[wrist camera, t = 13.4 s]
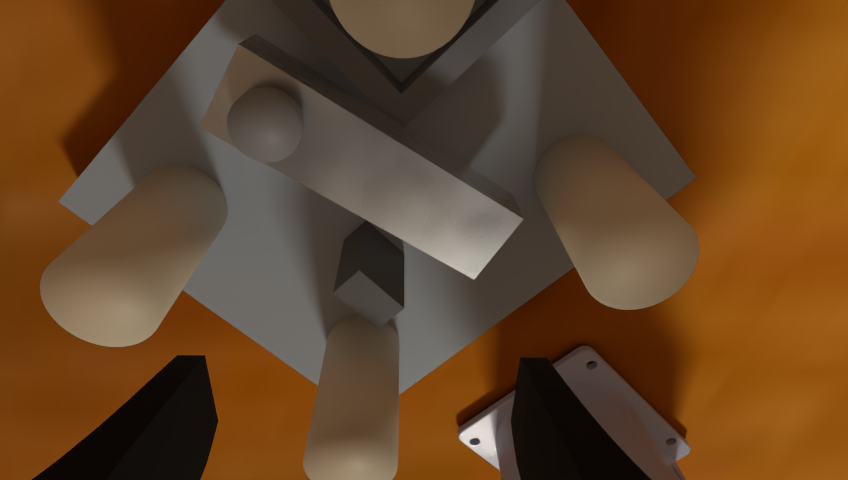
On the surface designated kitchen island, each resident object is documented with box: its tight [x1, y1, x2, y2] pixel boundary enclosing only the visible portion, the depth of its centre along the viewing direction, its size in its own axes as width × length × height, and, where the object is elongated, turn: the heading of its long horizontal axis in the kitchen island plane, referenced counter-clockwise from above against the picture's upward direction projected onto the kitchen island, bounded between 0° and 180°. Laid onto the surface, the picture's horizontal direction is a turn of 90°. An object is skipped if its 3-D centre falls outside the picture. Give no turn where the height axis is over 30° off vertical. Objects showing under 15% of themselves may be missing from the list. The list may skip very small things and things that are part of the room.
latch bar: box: [199, 34, 524, 279], centre depth 16 cm, size 9×2×2 cm, turn 57°
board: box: [40, 0, 699, 480], centre depth 17 cm, size 15×17×8 cm
